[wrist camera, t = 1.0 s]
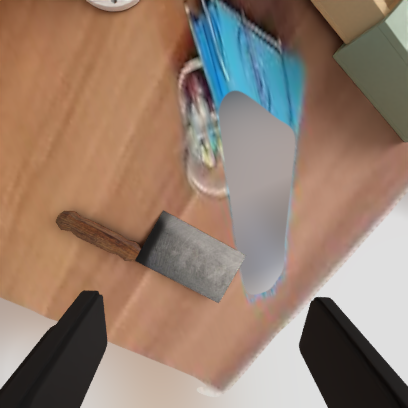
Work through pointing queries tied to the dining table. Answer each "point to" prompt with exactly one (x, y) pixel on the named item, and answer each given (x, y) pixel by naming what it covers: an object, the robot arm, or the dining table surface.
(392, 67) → the cabinet
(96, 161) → the dining table surface
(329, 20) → the drawer
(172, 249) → the meat cleaver
